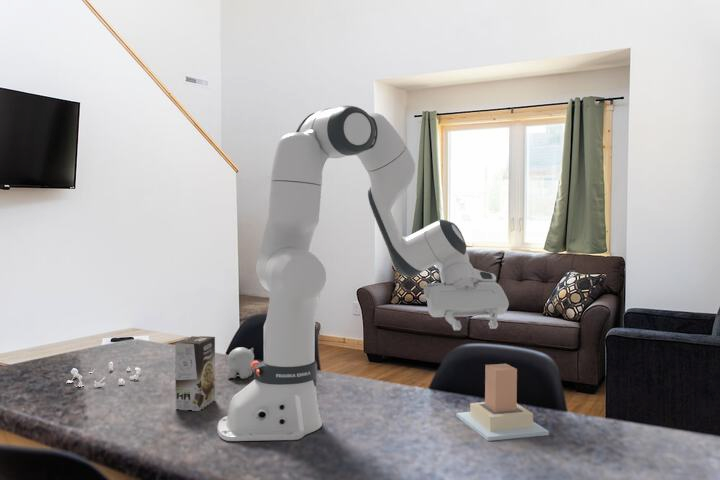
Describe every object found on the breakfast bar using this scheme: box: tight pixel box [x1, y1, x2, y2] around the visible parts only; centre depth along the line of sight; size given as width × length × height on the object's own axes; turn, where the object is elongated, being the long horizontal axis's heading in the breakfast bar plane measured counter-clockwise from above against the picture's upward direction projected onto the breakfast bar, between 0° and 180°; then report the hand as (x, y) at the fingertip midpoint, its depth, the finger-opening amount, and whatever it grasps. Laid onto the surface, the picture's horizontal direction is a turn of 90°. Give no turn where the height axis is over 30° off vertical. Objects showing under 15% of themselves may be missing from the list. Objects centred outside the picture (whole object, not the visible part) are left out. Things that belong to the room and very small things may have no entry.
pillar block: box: [484, 363, 518, 412], centre depth 135 cm, size 5×5×9 cm
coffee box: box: [174, 335, 216, 412], centre depth 150 cm, size 9×6×16 cm
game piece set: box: [66, 361, 141, 387], centre depth 174 cm, size 19×20×4 cm
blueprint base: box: [456, 401, 550, 442], centre depth 136 cm, size 14×16×4 cm
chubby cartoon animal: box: [226, 346, 255, 380], centre depth 178 cm, size 7×12×8 cm, turn 166°
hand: (476, 328), depth 148 cm, fingers open, 8 cm apart
